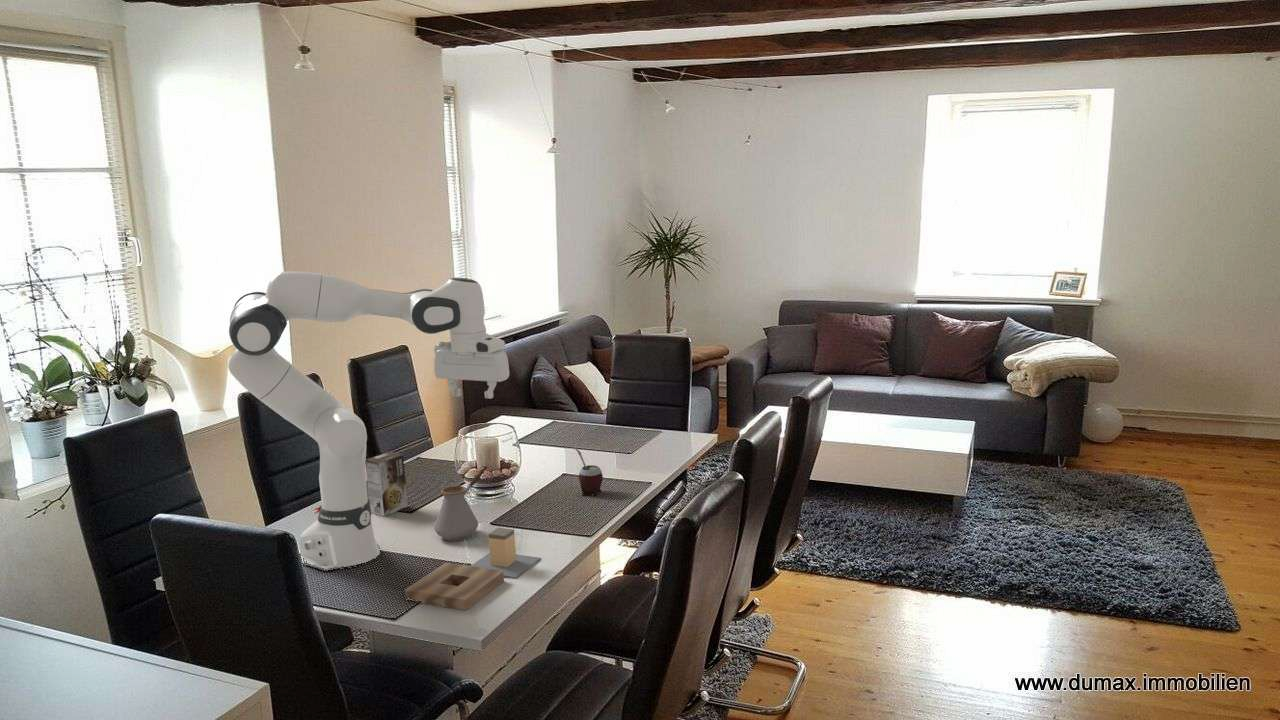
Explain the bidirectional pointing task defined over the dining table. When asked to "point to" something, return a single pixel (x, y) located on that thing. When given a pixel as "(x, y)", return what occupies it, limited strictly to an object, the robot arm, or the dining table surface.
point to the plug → (502, 547)
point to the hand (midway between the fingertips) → (473, 397)
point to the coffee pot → (456, 513)
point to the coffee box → (386, 483)
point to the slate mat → (513, 569)
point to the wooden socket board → (443, 593)
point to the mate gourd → (589, 477)
